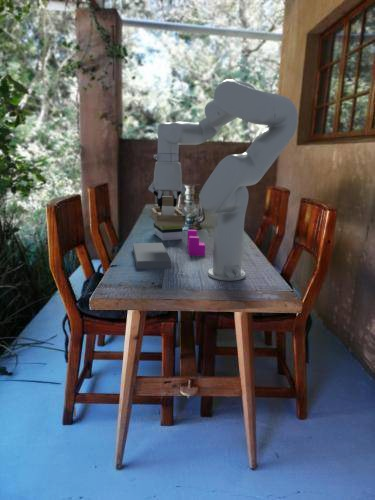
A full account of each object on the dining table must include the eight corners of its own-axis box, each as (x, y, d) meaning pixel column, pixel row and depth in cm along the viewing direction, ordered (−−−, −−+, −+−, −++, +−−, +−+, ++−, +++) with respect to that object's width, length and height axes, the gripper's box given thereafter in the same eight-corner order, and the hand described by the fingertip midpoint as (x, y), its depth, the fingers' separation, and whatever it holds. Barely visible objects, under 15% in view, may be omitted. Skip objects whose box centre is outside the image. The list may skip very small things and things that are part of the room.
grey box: (174, 218, 142) (174, 207, 142) (163, 218, 142) (163, 207, 141) (172, 216, 146) (172, 205, 145) (161, 216, 145) (161, 205, 145)
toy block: (204, 256, 160) (205, 238, 158) (189, 256, 160) (189, 237, 158) (201, 246, 175) (202, 230, 173) (187, 246, 174) (187, 229, 172)
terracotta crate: (64, 405, 174) (64, 413, 175) (65, 410, 171) (66, 418, 172) (73, 403, 176) (74, 411, 177) (75, 408, 173) (75, 416, 174)
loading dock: (171, 268, 143) (171, 260, 142) (137, 269, 140) (137, 261, 140) (162, 249, 167) (162, 242, 167) (133, 250, 165) (132, 243, 164)
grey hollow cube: (153, 211, 258) (154, 188, 254) (178, 211, 261) (178, 188, 257) (156, 215, 244) (156, 191, 241) (181, 215, 247) (182, 191, 243)
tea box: (152, 233, 196) (152, 203, 192) (172, 232, 200) (172, 203, 196) (162, 240, 183) (162, 208, 179) (182, 239, 186) (183, 207, 182)
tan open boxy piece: (185, 225, 140) (186, 199, 138) (156, 225, 138) (156, 199, 136) (175, 216, 163) (176, 194, 161) (151, 216, 161) (151, 193, 159)
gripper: (145, 158, 140) (145, 210, 145) (192, 159, 143) (190, 210, 148) (144, 157, 148) (143, 207, 152) (189, 158, 150) (187, 207, 155)
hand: (167, 208), depth 150 cm, fingers closed on tan open boxy piece, 4 cm apart
